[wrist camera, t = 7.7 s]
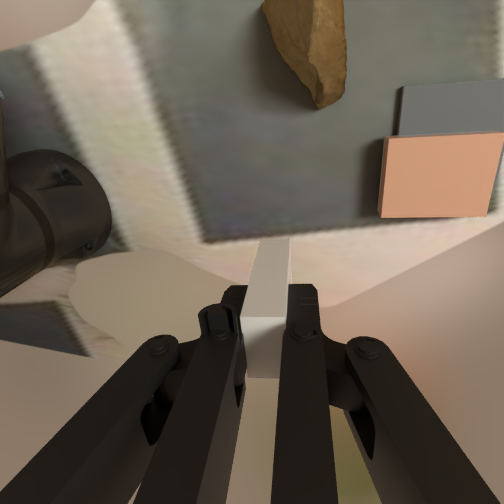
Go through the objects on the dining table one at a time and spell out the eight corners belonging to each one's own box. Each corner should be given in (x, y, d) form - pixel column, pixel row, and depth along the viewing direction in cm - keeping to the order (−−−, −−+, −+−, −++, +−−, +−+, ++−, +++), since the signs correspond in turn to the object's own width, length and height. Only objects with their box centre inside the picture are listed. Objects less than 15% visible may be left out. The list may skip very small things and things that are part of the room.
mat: (390, 195, 37) (391, 197, 36) (401, 86, 32) (404, 86, 32) (489, 193, 35) (493, 195, 34) (516, 77, 30) (521, 77, 30)
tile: (381, 217, 35) (485, 216, 33) (389, 138, 32) (505, 132, 30) (377, 210, 37) (475, 209, 35) (384, 136, 34) (492, 130, 32)
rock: (370, 112, 32) (389, -22, 26) (316, 128, 27) (325, -31, 22) (286, 102, 39) (288, -5, 33) (231, 114, 34) (222, -9, 28)
